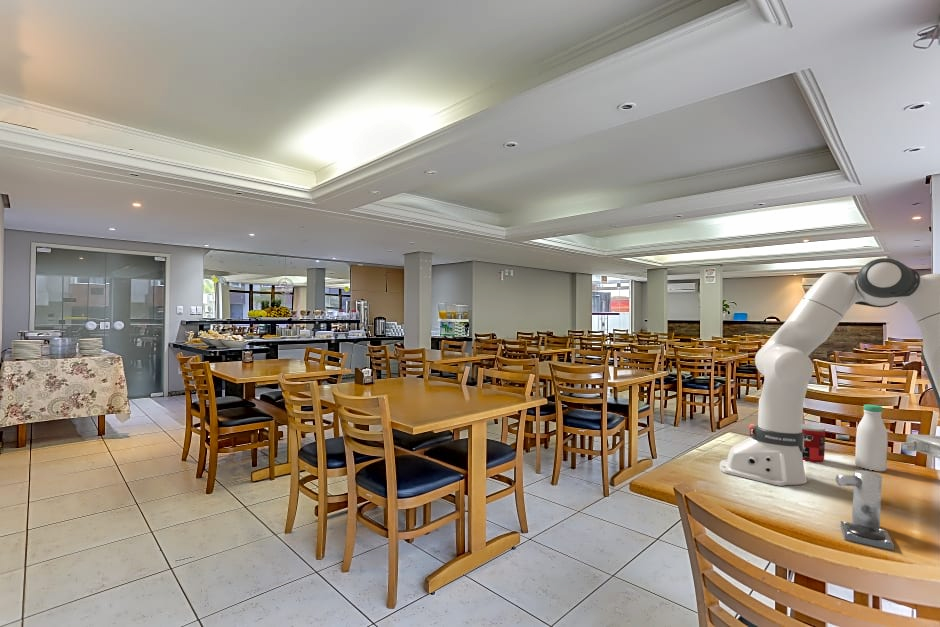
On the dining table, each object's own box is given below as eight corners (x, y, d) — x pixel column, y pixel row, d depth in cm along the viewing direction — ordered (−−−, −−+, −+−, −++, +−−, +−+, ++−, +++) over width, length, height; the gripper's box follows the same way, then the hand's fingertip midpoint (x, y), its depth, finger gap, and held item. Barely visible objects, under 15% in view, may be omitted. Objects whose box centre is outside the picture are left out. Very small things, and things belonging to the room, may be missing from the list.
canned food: (790, 454, 165) (791, 423, 165) (815, 456, 164) (816, 424, 164) (802, 461, 157) (803, 428, 157) (829, 463, 156) (830, 430, 156)
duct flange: (844, 540, 103) (845, 533, 103) (840, 526, 110) (840, 519, 110) (893, 550, 99) (894, 543, 99) (886, 535, 106) (886, 529, 106)
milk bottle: (886, 474, 147) (888, 409, 147) (854, 467, 153) (856, 405, 152) (886, 468, 153) (889, 405, 153) (855, 462, 158) (858, 402, 158)
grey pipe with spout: (867, 521, 113) (869, 470, 113) (886, 530, 108) (887, 478, 108) (829, 519, 113) (831, 469, 113) (846, 529, 108) (848, 476, 108)
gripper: (939, 428, 121) (884, 427, 121) (1034, 452, 100) (968, 451, 100) (938, 453, 121) (883, 452, 121) (1034, 482, 100) (967, 481, 100)
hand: (922, 452), depth 110 cm, fingers open, 8 cm apart
